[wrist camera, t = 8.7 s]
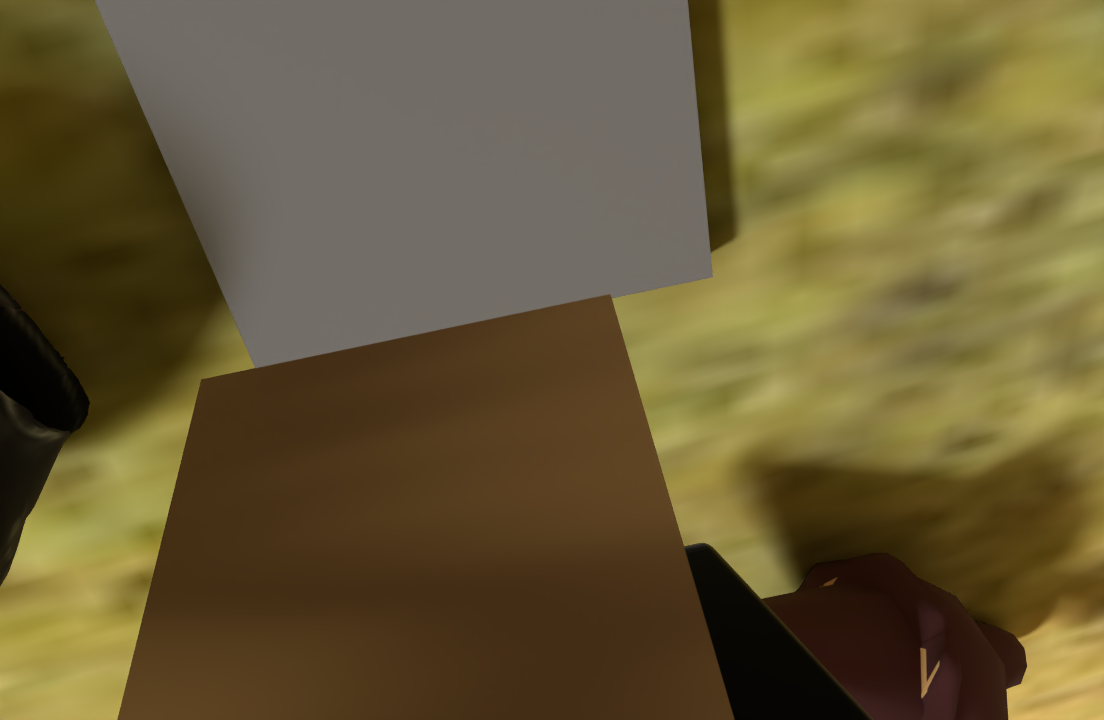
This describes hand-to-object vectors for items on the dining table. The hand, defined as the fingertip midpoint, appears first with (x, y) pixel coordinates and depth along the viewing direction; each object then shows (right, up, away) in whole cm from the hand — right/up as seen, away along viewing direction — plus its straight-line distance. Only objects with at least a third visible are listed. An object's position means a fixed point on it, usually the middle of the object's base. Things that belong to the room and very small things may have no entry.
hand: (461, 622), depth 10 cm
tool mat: (-2, +8, +10) cm, 13 cm away
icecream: (+9, -4, +21) cm, 23 cm away
